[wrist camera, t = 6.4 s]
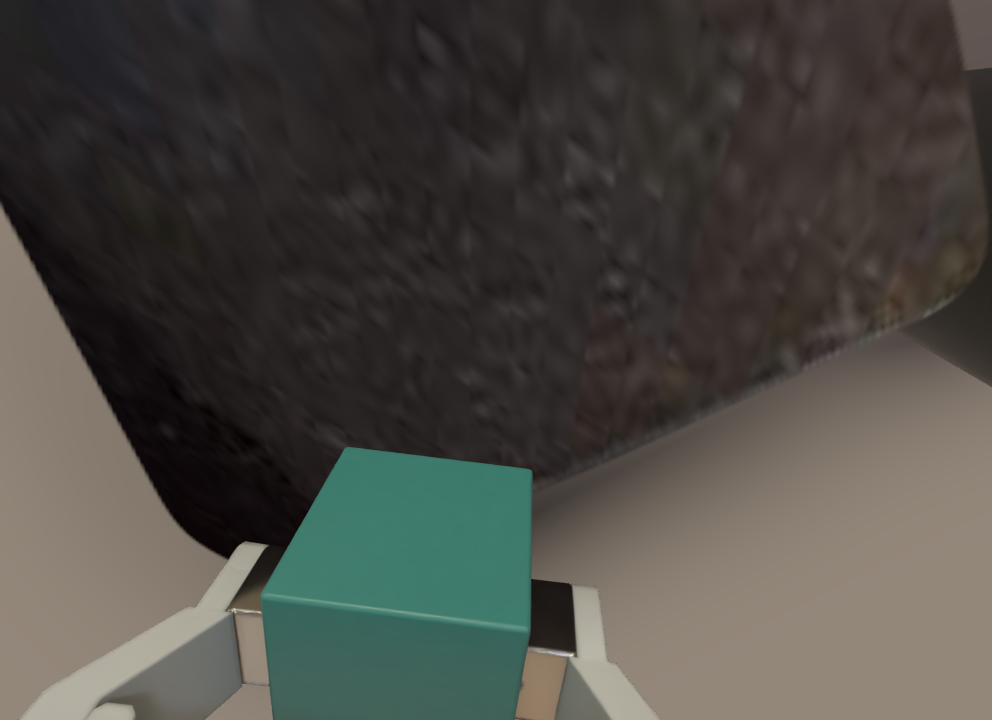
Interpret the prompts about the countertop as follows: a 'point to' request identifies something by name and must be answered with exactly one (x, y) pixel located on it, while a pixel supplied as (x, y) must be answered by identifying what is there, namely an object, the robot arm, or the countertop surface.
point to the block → (404, 593)
